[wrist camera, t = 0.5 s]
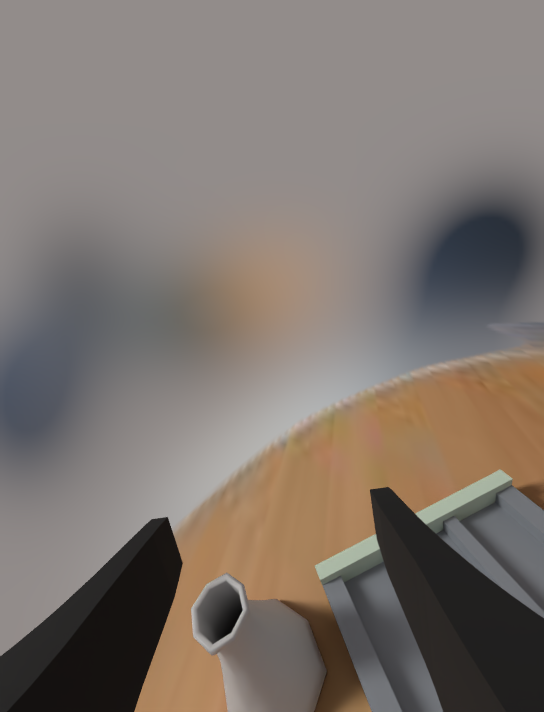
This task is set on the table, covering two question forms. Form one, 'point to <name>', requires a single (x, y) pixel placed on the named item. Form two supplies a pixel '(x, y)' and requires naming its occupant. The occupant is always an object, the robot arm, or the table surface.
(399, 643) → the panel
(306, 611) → the table surface
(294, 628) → the flask
